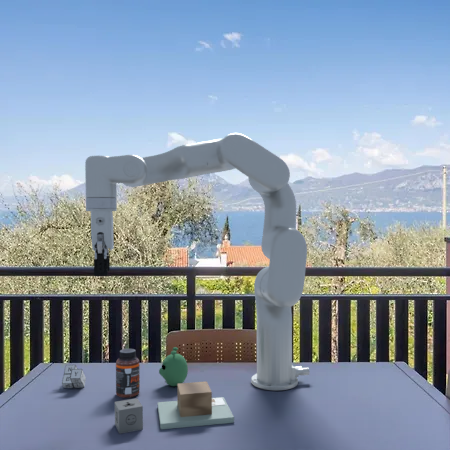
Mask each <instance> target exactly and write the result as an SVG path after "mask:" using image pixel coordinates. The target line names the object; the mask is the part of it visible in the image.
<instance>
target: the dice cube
mask: <svg viewBox="0 0 450 450" xmlns="http://www.w3.org/2000/svg"><path fill="white" fill-rule="evenodd" d="M143 408H144V407H143V405H142V403H141V402H140V400H139V399H138V398H137V397H136V398H128V399H124V400H118V401H114V425H115V427H116V430H117V432H118V434H119V435H121V434H125V433H132V432H137V431H141V430H143V429H144V422H143V421H144V417H143V416H144V415H143V414H144V413H143Z"/></svg>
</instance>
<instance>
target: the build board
mask: <svg viewBox="0 0 450 450" xmlns="http://www.w3.org/2000/svg"><path fill="white" fill-rule="evenodd" d="M157 411H158V421H159V426H160V427H159V428H160V430H168V429H170V430H171V429H180V428H190V427H199V426H200V427H201V426H203V427H204V426H210V425H223V424H231V423H233V424H234V423H235V416H234V414H233V412H232V410H231V408H230V406H229V405H228V403H227V400H226V399H225V397H224V396H217V397H212V414H210V415H199V416H188V417H180V413H179V409H178V402H177V400H173V401H172V400H171V401H169V400H168V401H161V402H160V401H157Z"/></svg>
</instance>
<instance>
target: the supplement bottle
mask: <svg viewBox="0 0 450 450" xmlns="http://www.w3.org/2000/svg"><path fill="white" fill-rule="evenodd" d="M140 378H141V377H140V359H139V358H138V357H137V354H136V349H134V348H123V349H120V350H119V357H118V358H117V360H116V362H115V395H116V396H117V397H119V398H124V399H132V398H134V397H136V395H137V396H138V395H139V394H140V388H141V387H140V381H141V380H140Z"/></svg>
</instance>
